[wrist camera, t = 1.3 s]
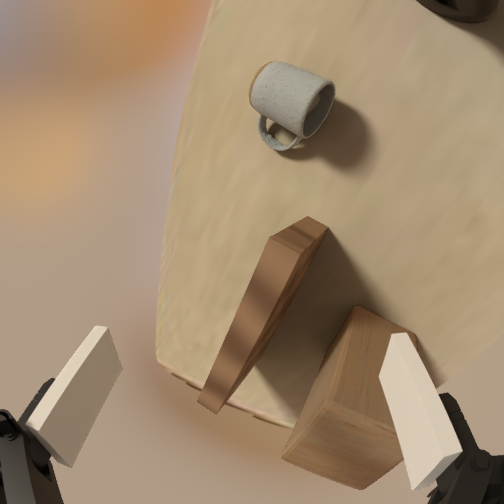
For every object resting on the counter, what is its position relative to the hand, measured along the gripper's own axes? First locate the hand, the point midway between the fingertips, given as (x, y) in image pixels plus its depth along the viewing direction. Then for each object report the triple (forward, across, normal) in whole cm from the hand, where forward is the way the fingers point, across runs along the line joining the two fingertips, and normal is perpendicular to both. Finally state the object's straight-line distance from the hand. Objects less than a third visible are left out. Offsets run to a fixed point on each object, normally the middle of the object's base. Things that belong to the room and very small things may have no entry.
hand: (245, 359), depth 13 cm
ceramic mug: (+30, +4, +12) cm, 32 cm away
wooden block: (+22, +15, -18) cm, 32 cm away
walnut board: (+27, +2, -13) cm, 30 cm away
